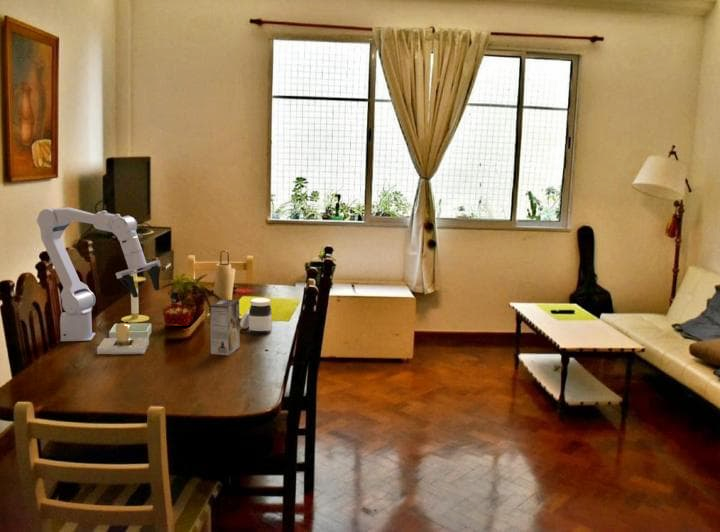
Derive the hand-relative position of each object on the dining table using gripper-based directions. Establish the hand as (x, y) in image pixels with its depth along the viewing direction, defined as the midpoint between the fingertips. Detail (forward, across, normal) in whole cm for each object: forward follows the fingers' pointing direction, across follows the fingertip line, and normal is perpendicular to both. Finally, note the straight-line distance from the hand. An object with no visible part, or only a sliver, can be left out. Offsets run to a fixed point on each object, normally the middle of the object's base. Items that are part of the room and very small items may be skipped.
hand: (146, 293), depth 215 cm
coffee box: (+25, +13, -14) cm, 31 cm away
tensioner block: (+15, -10, +6) cm, 19 cm away
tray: (+13, -2, +18) cm, 22 cm away
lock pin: (+15, -10, +6) cm, 19 cm away
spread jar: (+25, +34, -1) cm, 42 cm away
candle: (+10, +9, +36) cm, 39 cm away
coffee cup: (+16, +18, +20) cm, 31 cm away
